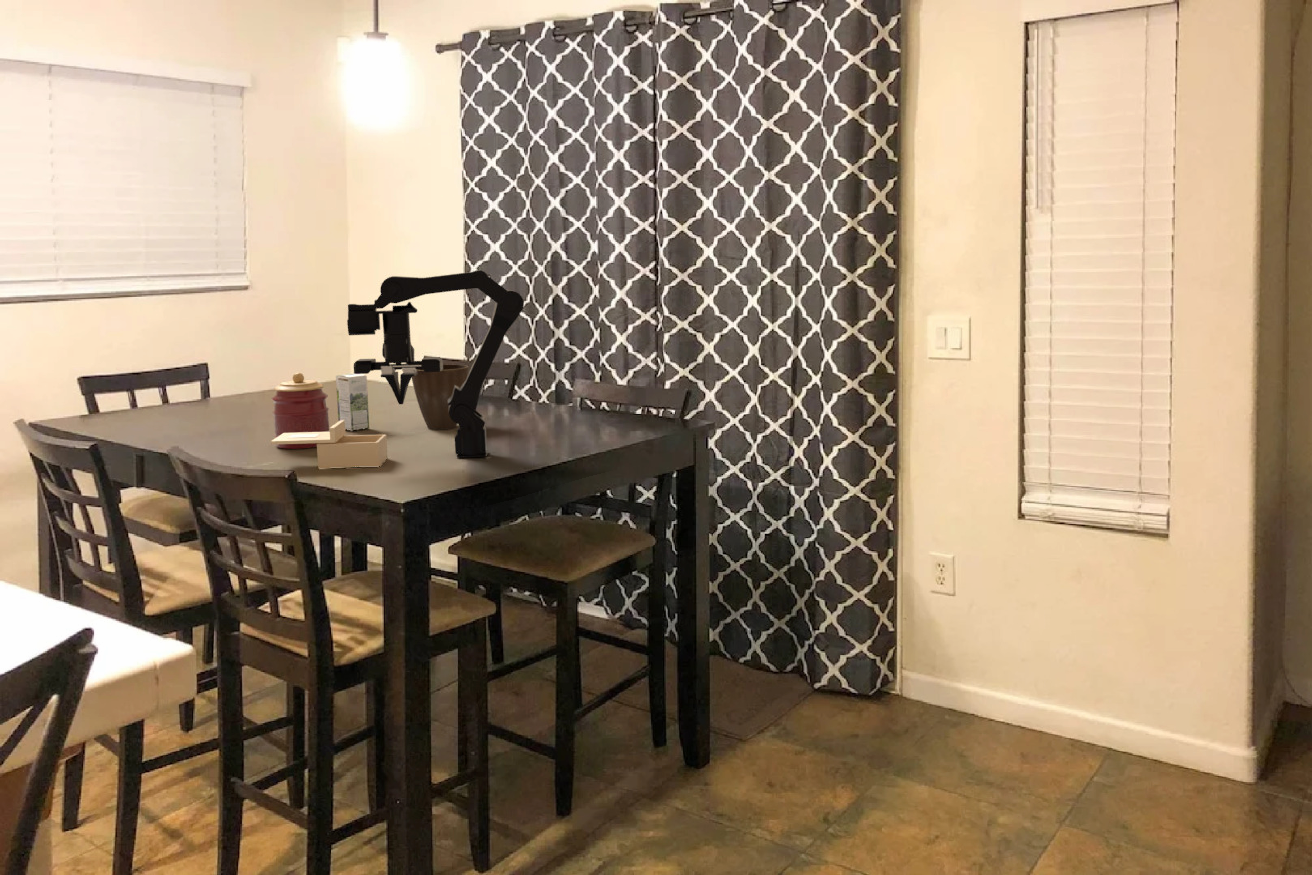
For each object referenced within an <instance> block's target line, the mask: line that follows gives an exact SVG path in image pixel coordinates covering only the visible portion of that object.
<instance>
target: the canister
mask: <svg viewBox="0 0 1312 875" xmlns="http://www.w3.org/2000/svg"><path fill="white" fill-rule="evenodd" d="M323 388H324V384H321V383H320V382H318V381H317V380H311V379H310V380H309V379H306V380H305V376H304V374H303V373H301V372H295V373H294V374H293V375H292V380H289V381H283V382H280V383H279V385H277V386H276V387H274V391H276V393H275V395H273V396H272V397H271V401H273V403H274V405H273V406H274V408H273V411H272V415H273V424H274V439H275V438H277V437H278V436H280V435H281V434H283V433H298V432H330V430H329V428H330V421H329V420H330V419H329V418H330V417H329V410H330V409H329V407H327V398H328V394H327V393H326V392H324V391H323ZM317 444H318V443H305V444H275V446H276V447H277V448H280V449H286V450H287V449H289V450H298V449H312V448H311V447H313V448H317V447H316V446H317Z"/></svg>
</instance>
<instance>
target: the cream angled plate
mask: <svg viewBox="0 0 1312 875" xmlns="http://www.w3.org/2000/svg"><path fill="white" fill-rule="evenodd" d="M329 431H330V432H298V433H283V434H281V435H280V436H278V437H277V438H275V437H274V438H273V439H272V440H270V442H269V443H270V445H271V446H272V445H276V444H305V443H335V442H337V441H338V440H339V439H340V438H342V437H343V436H346V432H347V431H345V420H340V421H338V420H337V422H336V423H334V424H333V425H331V426H329Z"/></svg>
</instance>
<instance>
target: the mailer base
mask: <svg viewBox="0 0 1312 875" xmlns="http://www.w3.org/2000/svg"><path fill="white" fill-rule="evenodd" d="M387 442H388V441H387V434H362V435H361V434H359V435H358V434H357V435H355V434H354V435H344V436H343V437H342V438H340V439H339V440H338V441H337V442H335V443H318V444H317V447H316V452H317V453H316V454H317V465H318V469H319V468H330V467H355V466H356V467H357V466H358V467H359V466H380V467H381V466H382V465H383V464H384V463H385V462H386V461H387V460H388V459H387V458H388V443H387ZM386 459H387V460H386ZM385 460H386V461H385ZM383 462H384V463H383ZM382 463H383V464H382Z"/></svg>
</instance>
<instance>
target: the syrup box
mask: <svg viewBox="0 0 1312 875" xmlns="http://www.w3.org/2000/svg"><path fill="white" fill-rule="evenodd" d="M367 378H368V376H367V374H354V373H347V374H346V373H345V374H340V375H335V385H336V402H337V416H338V418H337V419H338V420H337V422H338V421H340V420H345V429H347V430H351V431H350V432H353V431H352V430H357V429H363V428H369V429H370V420H369V419H370V417H369V416H370V415H369V413H370V412H369V397H368V395H369V394H368V379H367ZM363 430H364V429H363ZM357 431H358V430H357Z"/></svg>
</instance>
